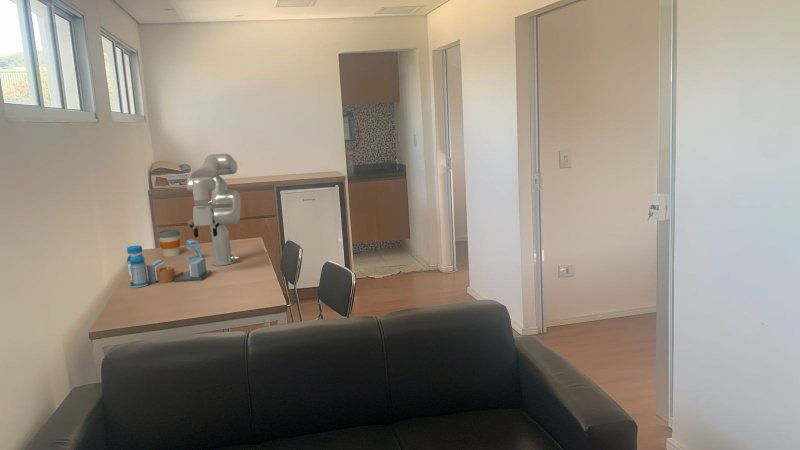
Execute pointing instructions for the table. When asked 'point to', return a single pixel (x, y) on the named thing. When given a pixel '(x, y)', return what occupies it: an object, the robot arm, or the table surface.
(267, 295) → the table surface
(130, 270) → the beverage bottle
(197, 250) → the small desk lamp
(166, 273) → the bracket
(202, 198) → the robot arm
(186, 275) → the plate
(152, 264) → the block
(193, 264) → the block
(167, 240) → the reusable coffee cup
